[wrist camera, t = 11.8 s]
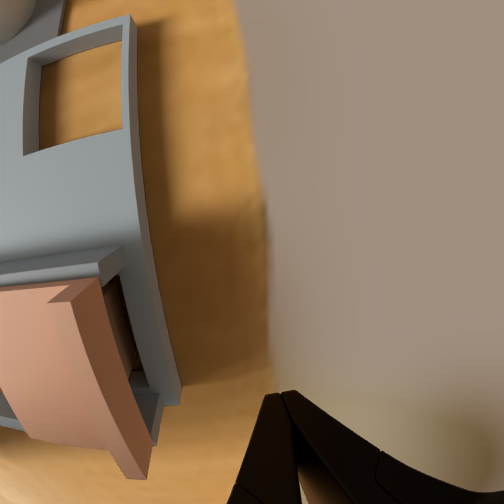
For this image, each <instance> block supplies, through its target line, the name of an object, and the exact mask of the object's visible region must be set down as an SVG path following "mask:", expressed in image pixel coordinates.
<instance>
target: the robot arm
mask: <svg viewBox="0 0 504 504" xmlns="http://www.w3.org/2000/svg"><path fill="white" fill-rule="evenodd" d="M299 481H300V484H301V486H302V489H303V491H304V494H305V496H306V498H307V501H308V503H309V504H504V490H503V491H496V492H485V493H484V492H474V491H469V490H466V489H463V488H460V487H457V486H454V485H452V484H449V483H446V482H444V481H441V480H438V479H436V478H434V477H431V476H429V475H426V474H424V473H422V472H420V471H417V470H415V469H413V468H411V467H409V466H407V465H405V464H404V463H402V462H400V461H398V460H396V459H395V458H393V457H391V456H390V455H388V454H387V453H385V452H384V451H380V449H379V448H377V447H375V446H374V445H373V444H371V443H369V442H368V441H366V440H365V439H363V438H362V437H360V436H359V435H357V434H356V433H354V432H353V431H352V430H350V429H349V428H347V427H346V426H344V425H343V424H341V423H340V422H339V421H337V420H336V419H334V418H333V417H331V416H330V415H329V414H327V413H326V412H325V411H323V410H322V409H320V408H319V407H318V406H316V405H315V404H314V403H312V402H311V401H310V400H308V399H307V398H305V397H304V396H303V395H301V394H300V393H299V392H298V391H296V390H291V391H285V392H282V393H281V394H280V393H273V394H267V395H265V396H264V399H263V402H262V405H261V408H260V411H259V415H258V418H257V421H256V424H255V427H254V430H253V433H252V436H251V439H250V442H249V445H248V448H247V450H246V453H245V456H244V459H243V462H242V465H241V468H240V470H239V473H238V476H237V479H236V482H235V483H236V484H234V486H233V489H232V492H231V494H230V497H229V499H228V502H227V504H302V501H301V493H300V485H299Z"/></svg>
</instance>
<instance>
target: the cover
mask: <svg viewBox="0 0 504 504" xmlns="http://www.w3.org/2000/svg"><path fill="white" fill-rule="evenodd" d="M0 388H1V390H2V391H3V393H4V395H5V397H6V399H7V401H8V403H9V405H10V406H11V408H12V410H13V412H14V413H15V415H16V417H17V418H18V420H19V422H20V423H21V425H22V427H23V428H24V430H25V431H26V433H27V434H28V436H29V438H32V439H37V440H41V441H46V442H52V443H57V444H63V445H69V446H76V447H83V448H91V449H101V450H109V451H110V453H111V455H112V456H113V458H114V460H115V461H116V463H117V465H118V466H119V468H120V469H121V471H122V472H123V474H124V475H125V477H126V478H127V479H136V480H147V475H148V469H149V463H150V457H151V452H152V446H153V441H152V439H151V436H150V434H149V432H148V429H147V427H146V425H145V422H144V420H143V418H142V415H141V413H140V410H139V408H138V405H137V403H136V400H135V398H134V395H133V392H132V390H131V387H130V384H129V381H128V379H127V376H126V373H125V370H124V367H123V364H122V361H121V358H120V355H119V352H118V349H117V345H116V342H115V339H114V335H113V332H112V328H111V325H110V321H109V318H108V314H107V310H106V306H105V302H104V298H103V294H102V290H101V285H100V281H99V277H93V278H84V279H75V280H65V281H56V282H46V283H37V284H27V285H17V286H7V287H0Z"/></svg>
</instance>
